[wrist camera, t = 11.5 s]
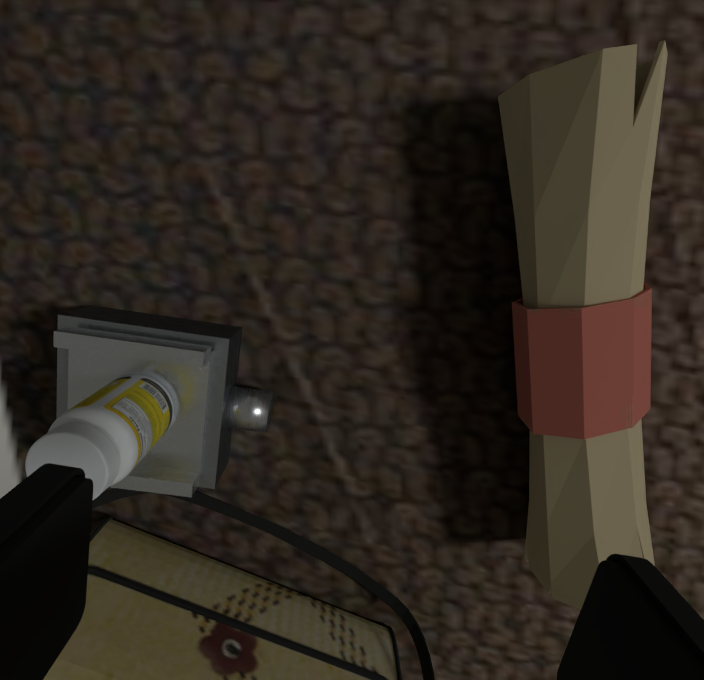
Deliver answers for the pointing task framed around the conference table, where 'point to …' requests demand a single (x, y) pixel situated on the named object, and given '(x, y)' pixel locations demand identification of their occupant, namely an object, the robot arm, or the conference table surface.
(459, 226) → the conference table surface
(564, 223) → the scroll
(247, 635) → the beige handbag
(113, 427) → the supplement bottle
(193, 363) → the grey drawer with knob
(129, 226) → the conference table surface
